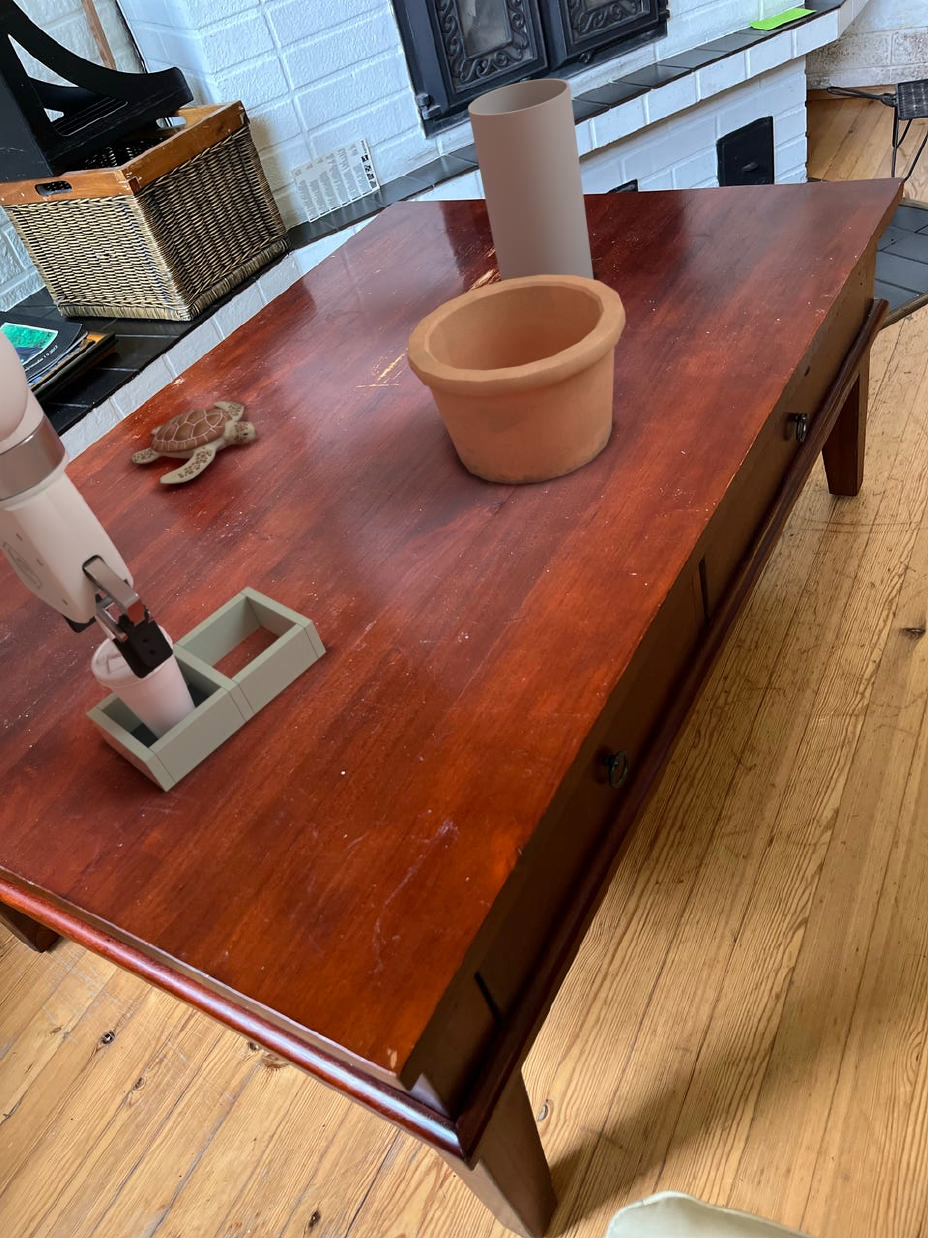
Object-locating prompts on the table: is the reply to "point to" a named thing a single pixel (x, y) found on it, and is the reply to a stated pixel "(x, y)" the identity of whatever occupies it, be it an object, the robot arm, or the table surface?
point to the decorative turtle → (197, 438)
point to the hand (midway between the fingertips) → (122, 642)
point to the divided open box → (214, 686)
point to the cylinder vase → (532, 179)
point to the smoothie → (144, 686)
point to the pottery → (523, 373)
